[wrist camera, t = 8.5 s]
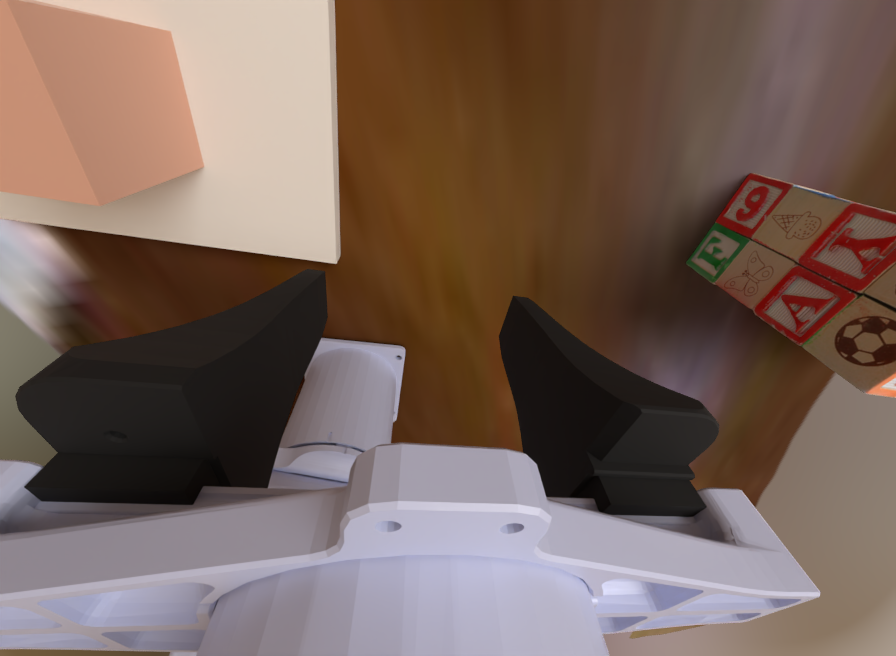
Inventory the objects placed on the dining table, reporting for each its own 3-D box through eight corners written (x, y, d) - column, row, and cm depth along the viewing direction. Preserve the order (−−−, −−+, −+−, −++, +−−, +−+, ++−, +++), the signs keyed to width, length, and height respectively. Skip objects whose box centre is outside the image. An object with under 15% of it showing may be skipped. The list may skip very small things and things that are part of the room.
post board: (340, 255, 21) (311, 314, 16) (14, 210, 18) (-156, 262, 13) (333, -70, 13) (265, -181, 7) (-266, -241, 10) (-1055, -610, 5)
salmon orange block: (204, 166, 16) (100, 206, 11) (87, 146, 16) (-85, 179, 10) (171, 31, 13) (4, -3, 8) (22, -3, 13) (-268, -64, 7)
